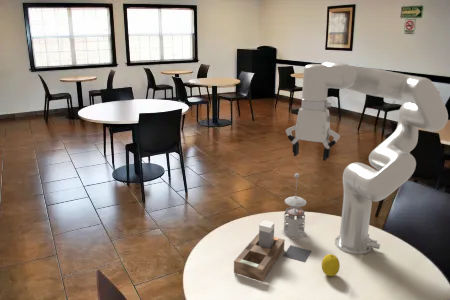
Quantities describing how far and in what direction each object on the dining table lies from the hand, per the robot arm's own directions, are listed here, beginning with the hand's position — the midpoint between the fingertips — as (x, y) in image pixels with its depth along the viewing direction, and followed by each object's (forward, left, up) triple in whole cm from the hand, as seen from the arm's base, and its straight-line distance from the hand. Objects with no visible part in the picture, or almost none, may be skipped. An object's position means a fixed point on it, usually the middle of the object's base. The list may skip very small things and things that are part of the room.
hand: (310, 157), depth 123 cm
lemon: (-11, +8, -36) cm, 39 cm away
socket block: (+12, +11, -36) cm, 40 cm away
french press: (+8, -13, -36) cm, 40 cm away
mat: (+2, +1, -36) cm, 36 cm away
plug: (+12, +6, -36) cm, 39 cm away
